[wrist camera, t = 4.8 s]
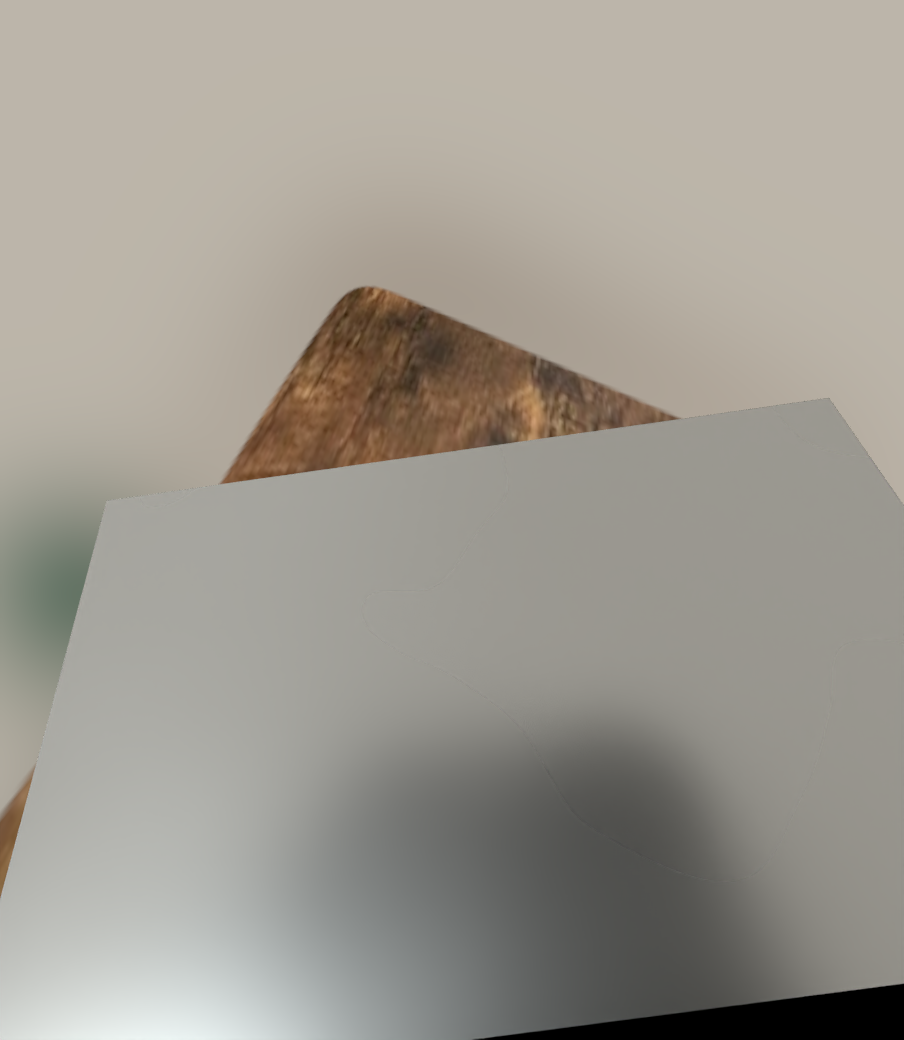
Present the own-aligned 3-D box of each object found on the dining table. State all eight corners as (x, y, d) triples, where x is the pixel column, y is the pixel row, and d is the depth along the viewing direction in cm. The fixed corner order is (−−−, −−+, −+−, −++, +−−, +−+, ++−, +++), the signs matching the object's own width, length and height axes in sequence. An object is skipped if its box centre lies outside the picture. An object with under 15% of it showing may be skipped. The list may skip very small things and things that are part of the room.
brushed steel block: (612, 891, 13) (1535, 1414, 1) (411, 920, 13) (-213, 1694, 1) (570, 715, 15) (818, 382, 4) (399, 740, 15) (112, 482, 4)
